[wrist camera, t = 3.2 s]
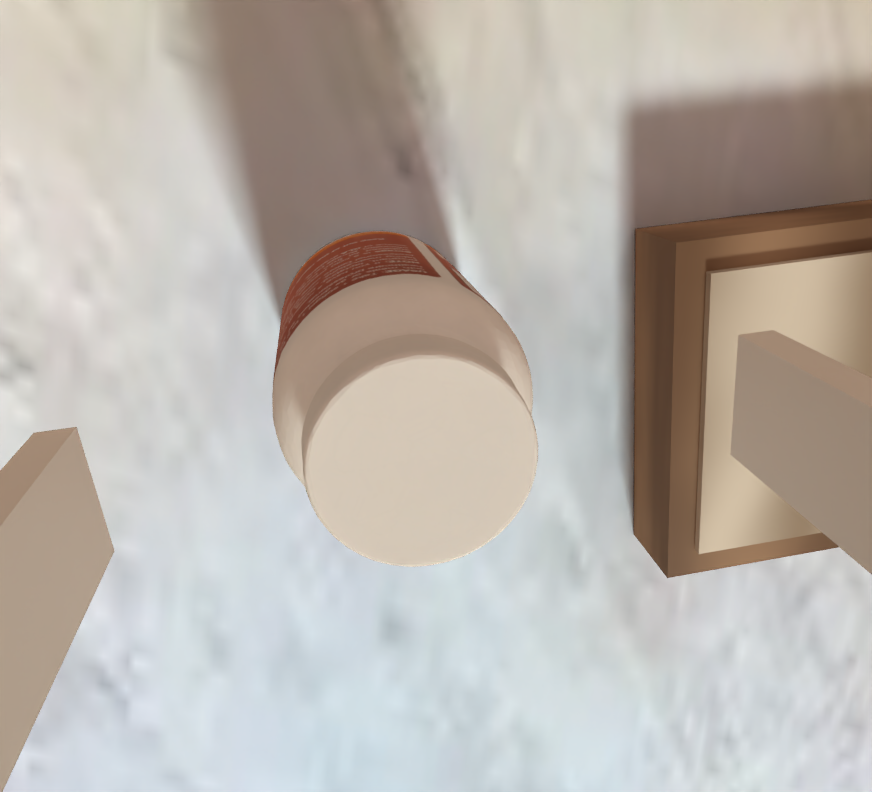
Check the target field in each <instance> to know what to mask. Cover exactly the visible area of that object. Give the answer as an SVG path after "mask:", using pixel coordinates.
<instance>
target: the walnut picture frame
mask: <svg viewBox="0 0 872 792" xmlns="http://www.w3.org/2000/svg"><path fill="white" fill-rule="evenodd" d="M769 330H775V331H777V332H779V333H781V334H783V335H785V336H787V337H789V338H791V339H793V340H795V341H797V342H799V343H801V344H803V345H805V346H807V347H809V348H811V349H813V350H815V351H817V352H819V353H821V354H823V355H825V356H827V357H830V358H832V359H834V360H836V361H838V362H840V363H842V364H844V365H846V366H848V367H850V368H852V369H854V370H856V371H858V372H860V373H862V374H864V375H866V376H868V377H870V378H872V200H864V201H856V202H848V203H840V204H832V205H824V206H816V207H808V208H800V209H792V210H784V211H776V212H768V213H759V214H751V215H743V216H735V217H727V218H719V219H711V220H703V221H695V222H687V223H679V224H671V225H663V226H655V227H647V228H638V229H635V408H634V535H635V536H636V538H637V539H638V540H639V541H640V543H641V544H642V545H643V547H644V548H645V549H646V551H647V552H648V553H649V554H650V556H651V557H652V558H653V560H654V561H655V562H656V564H657V565H658V566H659V567H660V569H661V570H662V571H663V573H664V574H665V575H666V577H667V578H670V577H675V576H681V575H686V574H692V573H698V572H703V571H709V570H714V569H720V568H725V567H731V566H737V565H742V564H748V563H753V562H759V561H764V560H770V559H776V558H781V557H787V556H792V555H798V554H803V553H809V552H815V551H820V550H826V549H831V548H837V547H839V546H838V545H836V544H835V543H834V542H833V541H832V540H831V539H829V538H828V537H827V536H826V535H825V534H823V533H822V532H821V531H820V530H819V529H818V528H816V527H815V526H814V525H813V524H812V523H810V522H809V521H808V520H807V519H806V518H805V517H803V516H802V515H801V514H800V513H799V512H797V511H796V510H795V509H794V508H793V507H792V506H790V505H789V504H788V503H787V502H786V501H784V500H783V499H782V498H781V497H780V496H779V495H777V494H776V493H775V492H774V491H773V490H772V489H770V488H769V487H768V486H767V485H766V484H764V483H763V482H762V481H761V480H760V479H759V478H757V477H756V476H755V475H754V474H753V473H751V472H750V471H749V470H748V469H747V468H746V467H744V466H743V465H742V464H741V463H740V462H738V461H737V460H736V459H735V458H734V457H733V456H731V455H730V453H731V438H732V423H733V407H734V392H735V377H736V362H737V347H738V335H741V334H748V333H755V332H762V331H769Z"/></svg>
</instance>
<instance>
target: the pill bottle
mask: <svg viewBox="0 0 872 792" xmlns="http://www.w3.org/2000/svg"><path fill="white" fill-rule="evenodd" d="M272 395H273V420H274V426H275V430H276V434H277V438H278V441H279V444H280V447H281V450H282V452H283V454H284V457H285V459H286V461H287V463H288V464H289V466H290V468H291V469H292V471H293V472H294V474H295V475H296V476H297V478H298V479H299V480H300V481H301V483H302V484H303V485H304V486H305V487H306V492H307V494H308V497H309V500H310V502H311V505H312V507H313V509H314V511H315V512H316V514H317V516H318V518H319V519H320V521H321V522H322V523H323V525H324V526H325V527H326V528H327V529H328V531H329V532H330V533H331V534H332V535H333V536H334V537H335V538H336V539H337V540H339V541H340V542H341V543H343V544H344V545H345V546H346V547H348V548H349V549H351V550H353V551H355V552H356V553H358V554H360V555H362V556H364V557H367V558H369V559H371V560H374V561H378V562H382V563H386V564H390V565H398V566H407V567H414V566H428V565H434V564H439V563H444V562H448V561H451V560H454V559H457V558H460V557H463V556H465V555H467V554H470V553H471V552H473V551H475V550H476V549H478V548H480V547H482V546H483V545H485V544H486V543H488V542H489V541H491V540H492V539H493V538H495V537H496V536H497V535H498V534H499V533H500V532H502V531H503V530H504V529H505V528H506V526H507V525H508V524H509V523H510V522H511V521H512V520H513V518H514V517H515V516H516V514H517V513H518V512H519V510H520V509H521V507H522V506H523V504H524V502H525V500H526V498H527V496H528V494H529V492H530V490H531V487H532V484H533V481H534V477H535V474H536V468H537V461H538V442H537V434H536V429H535V426H534V422H533V419H532V416H531V414H532V404H533V392H532V381H531V374H530V369H529V366H528V363H527V359H526V356H525V354H524V351H523V349H522V347H521V345H520V343H519V341H518V339H517V337H516V335H515V334H514V333H513V331H512V330H511V328H510V327H509V326H508V324H507V323H506V322H505V320H504V319H503V318H502V316H501V315H500V314H499V313H498V312H497V311H496V310H495V309H494V308H493V307H492V306H491V305H490V304H489V303H488V302H487V301H486V300H485V299H484V297H483V296H482V295H481V294H480V293H479V292H478V291H477V290H476V289H475V288H474V287H473V286H472V285H471V284H470V283H469V282H468V281H467V280H466V279H465V278H464V277H463V276H462V275H461V274H460V272H458V271H457V270H456V268H455V267H454V266H453V265H451V264H450V263H449V262H448V261H447V260H446V259H445V258H444V257H443V256H442V255H441V254H440V253H439V252H437V251H436V250H435V249H433V248H432V247H430V246H429V245H427V244H425V243H423V242H421V241H420V240H417V239H415V238H413V237H410V236H407V235H404V234H400V233H395V232H388V231H368V232H361V233H356V234H351V235H348V236H345V237H342V238H339V239H337V240H335V241H333V242H331V243H329V244H328V245H326V246H324V247H323V248H321V249H320V250H319V251H317V252H316V253H315V254H314V255H312V256H311V257H310V258H309V259H308V260H307V261H306V263H305V264H304V265H303V266H302V267H301V269H300V270H299V271H298V273H297V274H296V276H295V278H294V279H293V281H292V283H291V285H290V287H289V290H288V292H287V295H286V298H285V302H284V306H283V310H282V317H281V325H280V333H279V340H278V349H277V355H276V363H275V372H274V380H273V394H272Z"/></svg>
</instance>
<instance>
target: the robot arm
mask: <svg viewBox="0 0 872 792" xmlns="http://www.w3.org/2000/svg"><path fill="white" fill-rule="evenodd" d="M730 455H731V456H733V457H734V458H735V459H736V460H737V461H738V462H740V463H741V464H742V465H743V466H744V467H746V468H747V469H748V470H749V471H750V472H751V473H753V474H754V475H755V476H756V477H757V478H759V479H760V480H761V481H762V482H763V483H764V484H766V485H767V486H768V487H769V488H770V489H772V490H773V491H774V492H775V493H776V494H777V495H779V496H780V497H781V498H782V499H783V500H784V501H786V502H787V503H788V504H789V505H790V506H792V507H793V508H794V509H795V510H796V511H797V512H799V513H800V514H801V515H802V516H803V517H805V518H806V519H807V520H808V521H809V522H810V523H812V524H813V525H814V526H815V527H816V528H818V529H819V530H820V531H821V532H822V533H823V534H825V535H826V536H827V537H828V538H829V539H831V540H832V541H833V542H834V543H835V544H836V545H838V546H839V547H840V548H841V549H842V550H844V551H845V552H846V553H847V554H848V555H849V556H851V557H852V558H853V559H854V560H855V561H857V562H858V563H859V564H860V565H861V566H862V567H864V568H865V569H866V570H867V571H868V572H869V573H871V574H872V378H870V377H868V376H866V375H864V374H862V373H860V372H858V371H856V370H854V369H852V368H850V367H848V366H846V365H844V364H842V363H840V362H838V361H836V360H834V359H832V358H830V357H827V356H825V355H823V354H821V353H819V352H817V351H815V350H813V349H811V348H809V347H807V346H805V345H803V344H801V343H799V342H797V341H795V340H793V339H791V338H789V337H787V336H785V335H783V334H781V333H779V332H777V331H775V330H769V331H762V332H755V333H748V334H741V335H738V347H737V362H736V377H735V392H734V407H733V423H732V438H731V453H730ZM113 553H114V548H113V545H112V541H111V538H110V535H109V532H108V528H107V525H106V522H105V519H104V515H103V512H102V509H101V506H100V502H99V499H98V496H97V493H96V489H95V486H94V483H93V480H92V476H91V473H90V470H89V466H88V463H87V460H86V457H85V453H84V450H83V447H82V444H81V440H80V437H79V434H78V431H77V427H72V428H65V429H58V430H51V431H44V432H36V433H33V434H32V435H31V437H30V438H29V439H28V440H27V441H26V442H25V443H24V445H23V446H22V447H21V448H20V449H19V450H18V451H17V453H16V454H15V455H14V456H13V457H12V458H11V459H10V460H9V462H8V463H7V464H6V465H5V466H4V467H3V468H2V470H1V471H0V792H3V789H4V787H5V785H6V783H7V781H8V779H9V776H10V774H11V772H12V770H13V768H14V766H15V764H16V761H17V759H18V757H19V755H20V753H21V751H22V749H23V746H24V744H25V742H26V740H27V738H28V736H29V733H30V731H31V729H32V727H33V725H34V723H35V721H36V718H37V716H38V714H39V712H40V710H41V708H42V706H43V703H44V701H45V699H46V697H47V695H48V693H49V690H50V688H51V686H52V684H53V682H54V680H55V678H56V675H57V673H58V671H59V669H60V667H61V665H62V663H63V660H64V658H65V656H66V654H67V652H68V650H69V647H70V645H71V643H72V641H73V639H74V637H75V635H76V632H77V630H78V628H79V626H80V624H81V622H82V620H83V617H84V615H85V613H86V611H87V609H88V607H89V604H90V602H91V600H92V598H93V596H94V594H95V592H96V589H97V587H98V585H99V583H100V581H101V579H102V577H103V574H104V572H105V570H106V568H107V566H108V564H109V561H110V559H111V557H112V555H113Z"/></svg>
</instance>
